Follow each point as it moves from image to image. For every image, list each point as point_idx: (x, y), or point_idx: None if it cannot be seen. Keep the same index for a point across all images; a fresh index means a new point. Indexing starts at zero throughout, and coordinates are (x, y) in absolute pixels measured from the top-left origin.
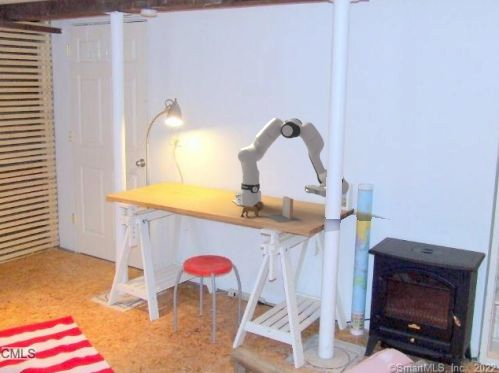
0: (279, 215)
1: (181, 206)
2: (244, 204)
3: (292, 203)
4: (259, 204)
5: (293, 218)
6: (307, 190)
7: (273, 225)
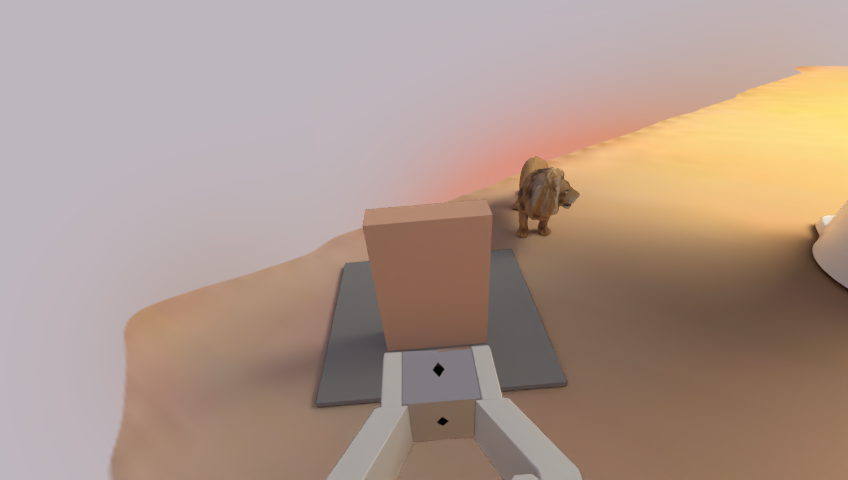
0: (506, 313)
1: (714, 120)
2: (823, 233)
3: (369, 256)
4: (528, 178)
5: None
6: (430, 350)
7: (334, 240)
